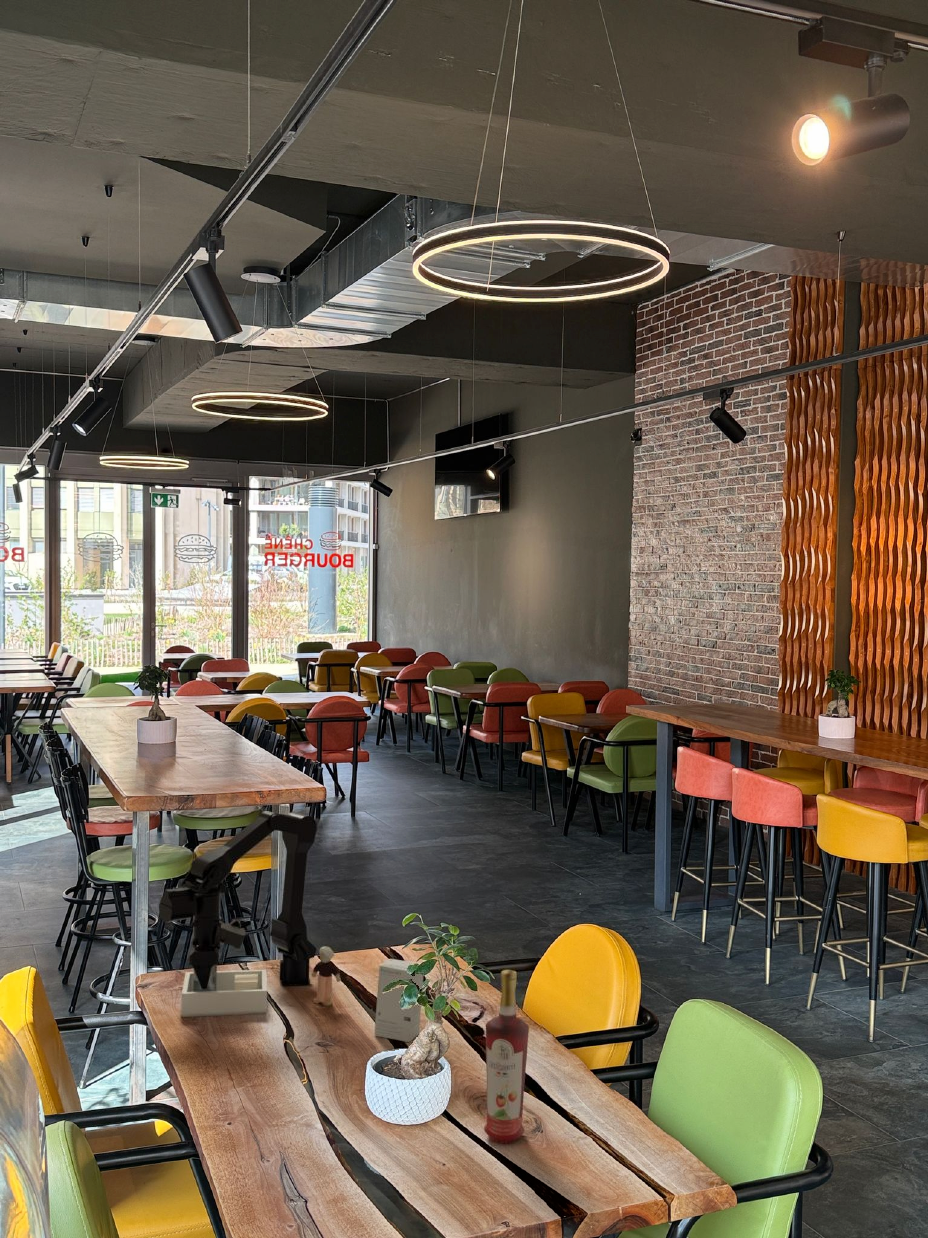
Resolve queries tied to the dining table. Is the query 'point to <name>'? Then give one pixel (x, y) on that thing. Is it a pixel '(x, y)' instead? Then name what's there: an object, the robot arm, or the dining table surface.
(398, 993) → the skincare box
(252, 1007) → the tote
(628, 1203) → the dining table surface
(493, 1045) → the liquor
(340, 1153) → the dining table surface
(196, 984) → the metal cylinder
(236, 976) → the wood cube
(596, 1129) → the dining table surface
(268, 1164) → the dining table surface
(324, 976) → the grandmother figurine
